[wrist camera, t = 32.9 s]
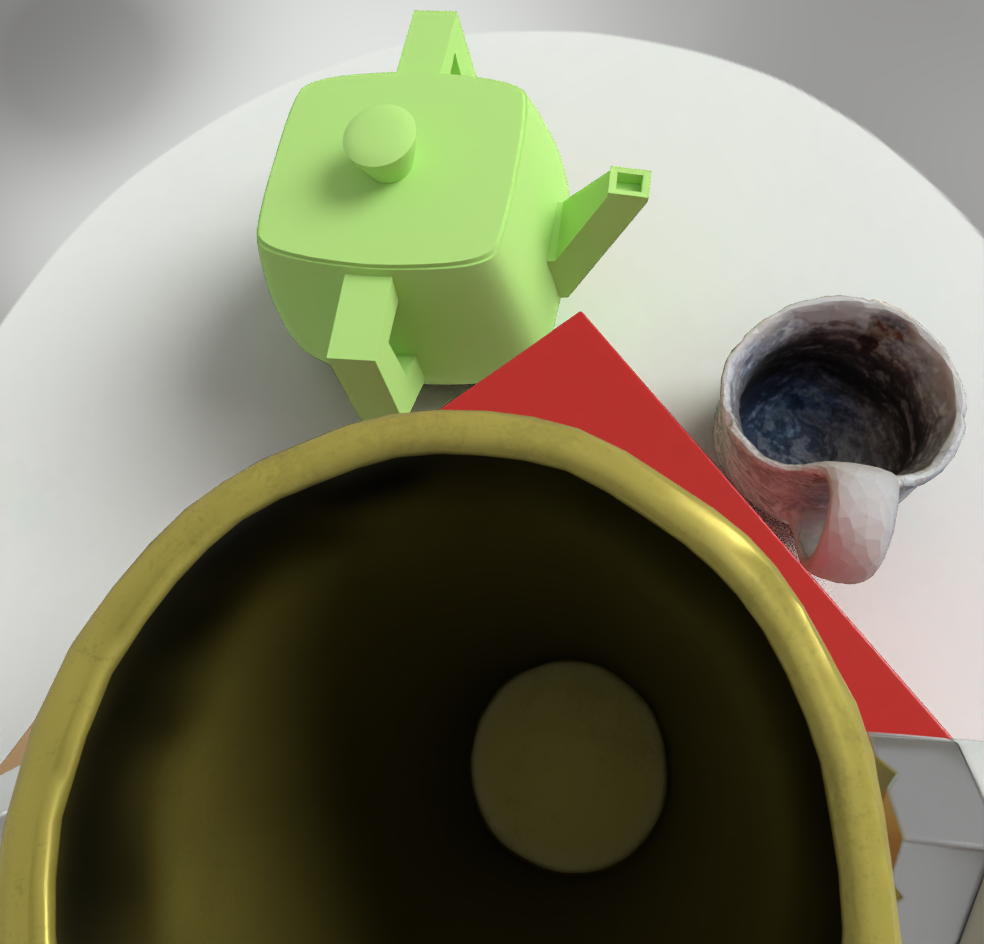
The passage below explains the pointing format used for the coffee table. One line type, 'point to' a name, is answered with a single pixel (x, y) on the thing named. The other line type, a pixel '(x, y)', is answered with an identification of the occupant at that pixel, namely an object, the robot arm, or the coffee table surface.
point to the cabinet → (673, 453)
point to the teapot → (427, 222)
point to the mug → (837, 425)
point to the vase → (448, 717)
